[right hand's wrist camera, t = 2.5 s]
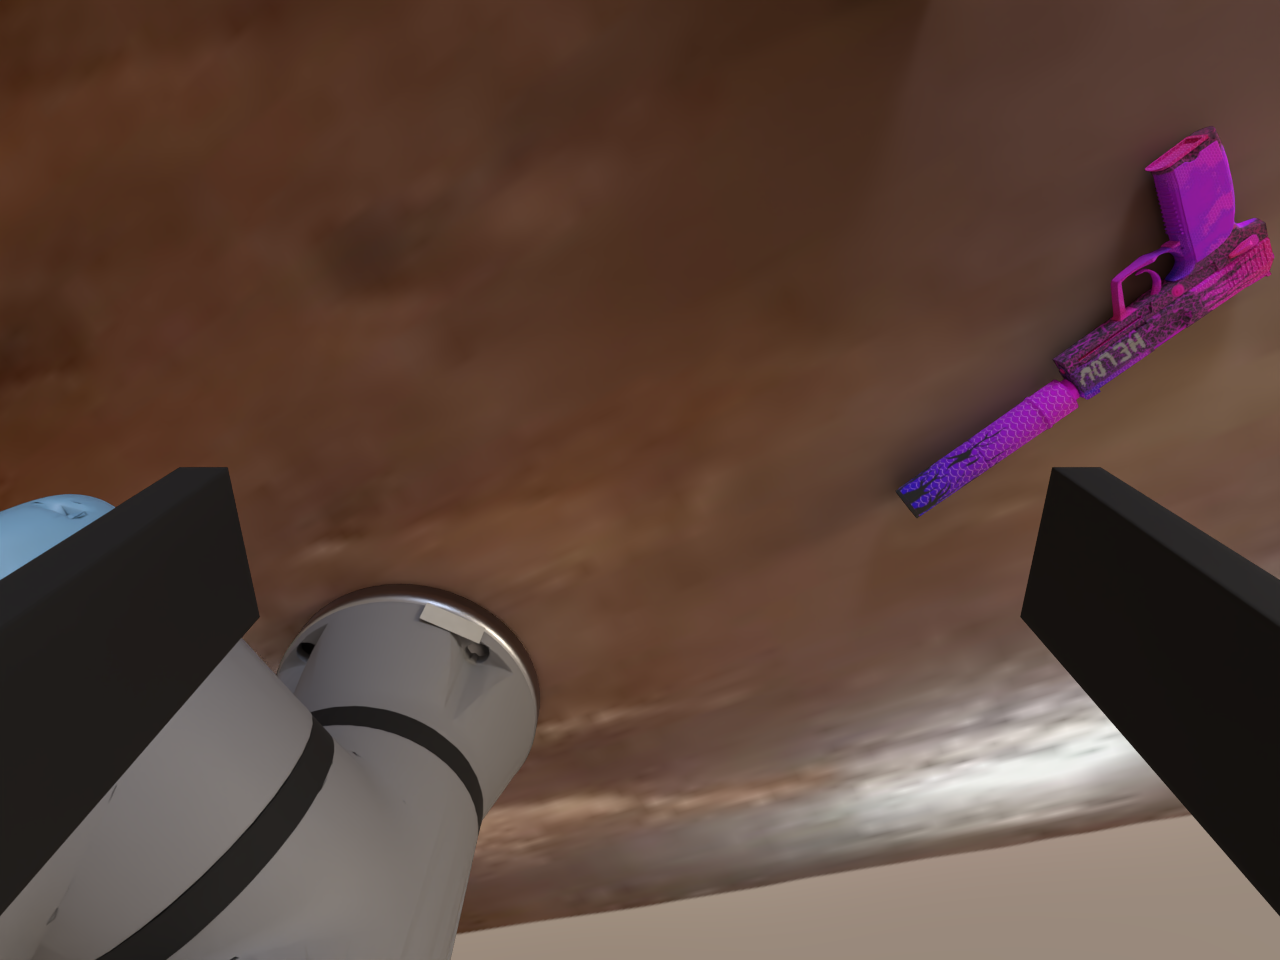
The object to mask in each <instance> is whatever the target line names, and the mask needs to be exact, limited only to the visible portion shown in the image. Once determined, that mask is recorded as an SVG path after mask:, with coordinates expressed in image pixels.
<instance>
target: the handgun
mask: <svg viewBox="0 0 1280 960" xmlns="http://www.w3.org/2000/svg"><path fill="white" fill-rule="evenodd" d="M1145 170H1146V171H1151V173H1152V175H1153V177H1154V182H1155V187H1156V189H1157V190H1156V192H1157V193H1158V194H1157V196H1158V197H1159V198H1158V200H1159V201H1160V203H1159V205H1161V207H1160V209H1162V211H1161V213H1163V215H1162V217H1163V218H1164V220H1163V222H1165V224H1164V226H1166V228H1165V229H1164V230H1167V231H1166V232H1165V233H1166V234H1168V236H1169V240H1170V241H1168V242H1166V243H1164V244H1163V245H1162V246H1160V247H1161V248H1160V249H1158V250H1156V251H1153V252H1151V253H1148V254H1145V255H1142V256H1140V257H1139V258H1137V259H1136V260H1135V261H1134V262H1133V263H1131V264H1130V265H1129V266H1128V267H1127V268H1125V269H1124V270H1123V271H1122V272H1120V273H1119V274H1118V275H1117V276H1116V277H1115V278H1114V279H1113V280H1112V281H1111V293H1112V305H1113V317H1111V318H1110V319H1109V320H1107V321H1106V322H1104V323H1103V324H1102V325H1100V326H1099V327H1097V328H1096V329H1095V330H1093V331H1092V332H1090V333H1089V334H1088V335H1086V336H1085V337H1083V338H1082V339H1081V340H1079V341H1078V342H1076V343H1075V344H1074V345H1072V346H1071V347H1069V348H1068V349H1067V350H1065V351H1064V352H1062V353H1061V354H1060V355H1058V356H1057V357H1055V358H1054V359H1053V361H1054V362H1055V364H1056V365H1057V367H1058V369H1059V372H1060V373H1061V375H1062V377H1063V378H1064V380H1062V381H1061V382H1059V381H1057V380H1053V381H1051V382H1050V383H1049V384H1047V385H1046V386H1044V387H1043V388H1041V389H1040V390H1039V391H1037V392H1036V393H1034V394H1033V395H1031V396H1030V397H1026V398H1025V399H1024V401H1023V402H1021V403H1020V404H1019V405H1017V406H1016V407H1014V408H1013V409H1011V410H1010V411H1009V412H1007V413H1006V414H1004V415H1003V416H1001V417H1000V418H999V419H997V420H996V421H994V422H993V423H991V424H990V425H989V426H987V427H986V428H984V429H983V430H982V431H980V432H979V433H977V434H976V435H974V436H973V437H972V438H970V439H969V440H968V441H967V442H964V443H963V444H962V445H960V446H959V447H957V448H956V449H954V450H953V451H952V452H950V453H949V454H947V455H946V456H944V457H943V458H942V459H940V460H939V461H937V462H936V463H935V464H933V465H932V466H930V467H929V468H927V469H926V470H925V471H923V472H922V473H920V474H919V475H917V476H916V477H915V478H913V479H912V480H910V481H909V482H907V483H906V484H905V485H903V486H902V487H900V488H899V489H898V490H896V493H897V494H898V495H899V497H900V498H901V499H902V501H903V502H904V503H905V505H906V506H907V507H908V508H909V510H910V511H911V512H912V513H913V515H914V516H915V517H916V518H918V517H919V516H921V515H922V514H924V513H925V512H927V511H928V510H930V509H931V508H933V507H934V506H936V505H937V504H938V503H940V502H941V501H943V500H944V499H946V498H947V497H949V496H950V495H952V494H953V493H954V492H956V491H957V490H959V489H960V488H962V487H963V486H965V485H966V484H968V483H969V482H970V481H972V480H973V479H975V478H976V477H978V476H979V475H981V474H982V473H984V472H985V471H986V470H988V468H991V467H992V466H994V465H995V464H997V463H998V462H1000V461H1001V460H1002V459H1004V458H1005V457H1007V456H1008V455H1010V454H1011V453H1013V452H1014V451H1016V450H1017V449H1018V448H1020V447H1021V446H1023V445H1024V444H1026V443H1027V442H1029V441H1030V440H1032V439H1033V438H1034V437H1036V436H1037V435H1039V434H1040V433H1042V432H1043V431H1045V430H1046V429H1050V428H1051V427H1053V424H1055V423H1056V422H1058V421H1059V420H1061V419H1062V418H1063V417H1065V416H1066V415H1068V414H1069V413H1071V412H1072V411H1074V410H1075V409H1077V408H1078V403H1077V401H1076V399H1078V398H1079V397H1083V398H1085V399H1087V400H1088V399H1090V398H1091V397H1093V396H1095V395H1096V394H1098V393H1099V392H1100V390H1099V388H1100V387H1102V386H1103V385H1105V384H1106V383H1108V382H1109V381H1110V380H1112V379H1113V378H1115V377H1116V376H1118V375H1119V374H1121V373H1122V372H1124V371H1125V370H1126V369H1128V368H1129V367H1131V366H1132V365H1134V364H1135V363H1137V362H1138V361H1140V360H1141V359H1142V358H1144V357H1145V356H1147V355H1148V354H1150V353H1151V352H1153V351H1154V350H1155V348H1157V347H1158V346H1160V345H1161V344H1163V343H1164V342H1166V341H1167V340H1168V339H1170V338H1171V337H1173V336H1174V335H1176V334H1177V333H1179V332H1180V331H1181V330H1183V329H1184V328H1186V327H1189V326H1190V325H1192V324H1193V323H1195V322H1196V321H1198V320H1199V319H1200V318H1202V317H1203V316H1205V315H1206V314H1208V313H1209V312H1211V311H1212V310H1214V309H1215V308H1216V307H1218V306H1219V305H1221V304H1222V303H1224V302H1225V301H1227V300H1228V299H1230V298H1231V297H1232V296H1234V295H1235V294H1237V293H1238V292H1240V291H1241V290H1243V289H1244V288H1245V287H1248V286H1250V285H1251V284H1253V283H1255V282H1256V281H1258V280H1260V279H1261V278H1263V277H1264V276H1269V275H1271V272H1270V268H1271V265H1272V262H1273V259H1274V254H1273V253H1272V248H1271V244H1270V239H1269V238H1268V237H1267V236H1268V235H1267V229H1266V223H1265V222H1263V221H1261V220H1260V219H1258V218H1252V219H1249V220H1247V221H1244V222H1241V223H1238V224H1236V223H1235V222H1234V213H1235V198H1234V190H1233V183H1232V178H1231V173H1230V169H1229V164H1228V160H1227V157H1226V154H1225V150H1224V148H1223V145H1222V143H1221V141H1220V138H1219V136H1218V134H1217V132H1216V130H1215V128H1214V127H1213V126H1209V127H1206V128H1203V129H1201V130H1198V131H1196V132H1194V133H1192V134H1191V135H1190V136H1188V137H1186V138H1185V139H1183V140H1182V141H1181V142H1179V143H1178V144H1177V145H1175V146H1174V147H1173V148H1171V149H1170V150H1169V151H1167V152H1166V153H1165V154H1163V155H1162V156H1161V157H1159V158H1158V159H1157V160H1155V161H1154V162H1153V163H1151V164H1150V165H1149V166H1147V167H1146V168H1145ZM1168 252H1169V253H1171V254H1172V255H1173V256H1174V258H1175V264H1174V266H1173V268H1172V270H1171V271H1170V273H1169V274H1168V275H1167V276H1166V278H1165V279H1164V280H1162V281H1161V279H1160V277H1159V275H1158V274H1157V273H1156V272H1155V271H1152V270H1149V269H1141V270H1139V269H1140V268H1142V267H1144V266H1146V265H1148V264H1150V263H1153V262H1154V261H1155V260H1156V259H1157V257H1158V256H1159V255H1161V254H1164V253H1168ZM1137 270H1139V271H1138V272H1137V273H1136V274H1135V275H1136V276H1137V275H1139V274H1141V273H1143V272H1148V273H1149V274H1150V275H1151V277H1152V280H1153V285H1152V288H1151V289H1150V290H1148V291H1147V292H1145V293H1144V294H1143V295H1141V296H1140V297H1138V298H1137V299H1136V300H1135V301H1134V302H1133V303H1131V304H1130V305H1128V306H1127V307H1125V305H1124V299H1123V292H1122V285H1121V282H1122V281H1123V280H1125V279H1126V278H1127V277H1128V276H1129V275H1130V274H1132V273H1133V272H1135V271H1137Z"/></svg>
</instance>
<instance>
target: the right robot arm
mask: <svg viewBox="0 0 1280 960" xmlns="http://www.w3.org/2000/svg"><path fill="white" fill-rule="evenodd" d="M259 617H260V616H259V611H258V607H257V602H256V597H255V593H254V588H253V583H252V579H251V574H250V569H249V565H248V560H247V555H246V551H245V546H244V541H243V537H242V532H241V527H240V523H239V518H238V513H237V509H236V504H235V499H234V495H233V490H232V485H231V481H230V476H229V471H228V467H179V468H178V469H176V470H175V471H173V472H171V473H170V474H168V475H167V476H165V477H163V478H162V479H160V480H159V481H157V482H155V483H154V484H152V485H151V486H149V487H147V488H146V489H144V490H143V491H141V492H139V493H138V494H136V495H135V496H133V497H132V498H130V499H128V500H127V501H125V502H124V503H122V504H120V505H119V506H117V507H116V508H115V507H114V506H113V505H111V504H109V503H107V502H105V501H103V500H100V499H98V498H94V497H90V496H85V495H76V494H64V495H55V496H49V497H45V498H40V499H37V500H33V501H30V502H27V503H23V504H20V505H18V506H15V507H12V508H9V509H7V510H4V511H1V512H0V960H450V959H451V955H452V950H453V946H454V941H455V937H456V933H457V928H458V924H459V919H460V915H461V910H462V906H463V901H464V897H465V892H466V888H467V883H468V879H469V874H470V870H471V866H472V861H473V857H474V852H475V848H476V844H477V839H478V834H479V830H480V826H481V823H482V820H483V819H484V817H485V816H486V814H487V813H488V812H489V810H490V809H491V807H492V806H493V805H494V803H495V802H496V800H497V799H498V798H499V796H500V795H501V794H502V792H503V791H504V789H505V788H506V787H507V785H508V784H509V782H510V781H511V779H512V778H513V777H514V775H515V774H516V773H517V772H518V771H519V769H520V768H521V766H522V765H523V763H524V762H525V760H526V758H527V756H528V754H529V752H530V749H531V747H532V744H533V740H534V736H535V731H536V726H537V721H538V715H539V708H540V691H539V683H538V679H537V675H536V672H535V669H534V666H533V663H532V661H531V659H530V657H529V655H528V653H527V652H526V650H525V648H524V647H523V645H522V644H521V642H520V641H519V640H518V639H517V637H516V636H515V635H514V634H513V633H512V632H511V630H510V629H509V628H508V627H507V626H506V625H505V624H503V623H502V622H501V621H500V620H499V619H498V618H497V617H495V616H494V615H493V614H491V613H490V612H488V611H487V610H486V609H484V608H482V607H481V606H479V605H477V604H476V603H474V602H472V601H470V600H468V599H466V598H463V597H461V596H458V595H456V594H453V593H450V592H447V591H444V590H441V589H436V588H432V587H427V586H420V585H410V584H389V585H380V586H373V587H369V588H364V589H361V590H358V591H354V592H351V593H349V594H347V595H344V596H342V597H340V598H338V599H336V600H334V601H333V602H331V603H329V604H328V605H326V606H325V607H324V608H322V609H321V610H320V611H318V612H317V613H316V614H315V615H314V616H313V617H312V618H311V619H310V620H309V621H308V623H307V624H306V625H305V626H304V627H303V629H302V630H301V631H300V633H299V634H298V635H297V637H296V638H295V639H294V641H293V642H292V643H291V645H290V646H289V648H288V649H287V651H286V652H285V654H284V656H283V658H282V660H281V662H280V665H279V668H278V671H277V674H276V675H275V674H274V672H273V671H272V670H271V669H270V668H269V667H268V666H267V665H266V664H265V663H264V662H263V660H262V659H261V658H260V657H259V656H258V655H257V654H256V653H255V652H254V651H253V649H252V648H251V647H250V646H249V645H248V644H247V643H246V642H245V641H244V640H243V639H242V637H243V635H244V634H245V633H246V632H247V631H248V630H249V629H250V627H251V626H252V625H253V624H254V623H255V622H256V620H257V619H258V618H259ZM1020 617H1021V618H1022V619H1023V620H1024V622H1025V623H1026V624H1027V625H1028V626H1029V627H1030V629H1031V630H1032V631H1033V632H1034V633H1035V634H1036V635H1037V637H1038V638H1039V639H1040V640H1041V641H1042V642H1043V644H1044V645H1045V646H1046V647H1047V648H1048V649H1049V650H1050V652H1051V653H1052V654H1053V655H1054V656H1055V657H1056V659H1057V660H1058V661H1059V662H1060V663H1061V664H1062V665H1063V667H1064V668H1065V669H1066V670H1067V671H1068V672H1069V674H1070V675H1071V676H1072V677H1073V678H1074V679H1075V680H1076V682H1077V683H1078V684H1079V685H1080V686H1081V687H1082V689H1083V690H1084V691H1085V692H1086V693H1087V694H1088V695H1089V697H1090V698H1091V699H1092V700H1093V701H1094V702H1095V704H1096V705H1097V706H1098V707H1099V708H1100V709H1101V710H1102V712H1103V713H1104V714H1105V715H1106V716H1107V717H1108V719H1109V720H1110V721H1111V722H1112V723H1113V724H1114V725H1115V727H1116V728H1117V729H1118V730H1119V731H1120V732H1121V734H1122V735H1123V736H1124V737H1125V738H1126V739H1127V740H1128V742H1129V743H1130V744H1131V745H1132V746H1133V747H1134V749H1135V750H1136V751H1137V752H1138V753H1139V754H1140V755H1141V757H1142V758H1143V759H1144V760H1145V761H1146V762H1147V764H1148V765H1149V766H1150V767H1151V768H1152V769H1153V770H1154V772H1155V773H1156V774H1157V775H1158V776H1159V777H1160V779H1161V780H1162V781H1163V782H1164V783H1165V784H1166V785H1167V787H1168V788H1169V789H1170V790H1171V791H1172V792H1173V794H1174V795H1175V796H1176V797H1177V798H1178V799H1179V800H1180V802H1181V803H1182V804H1183V805H1184V806H1185V807H1186V809H1187V810H1188V811H1189V812H1190V813H1191V814H1192V815H1193V817H1194V818H1195V819H1196V820H1197V821H1198V822H1199V824H1200V825H1201V826H1202V827H1203V828H1204V829H1205V830H1206V832H1207V833H1208V834H1209V835H1210V836H1211V837H1212V838H1213V840H1214V841H1215V842H1216V843H1217V844H1218V845H1219V847H1220V848H1221V849H1222V850H1223V851H1224V852H1225V853H1226V855H1227V856H1228V857H1229V858H1230V859H1231V860H1232V862H1233V863H1234V864H1235V865H1236V866H1237V867H1238V868H1239V870H1240V871H1241V872H1242V873H1243V874H1244V875H1245V877H1246V878H1247V879H1248V880H1249V881H1250V882H1251V884H1252V885H1253V886H1254V887H1255V888H1256V889H1257V890H1258V892H1259V893H1260V894H1261V895H1262V896H1263V897H1264V898H1265V900H1266V901H1267V902H1268V903H1269V904H1270V905H1271V907H1272V908H1273V909H1274V910H1275V911H1276V912H1277V914H1278V915H1279V916H1280V580H1279V579H1277V578H1276V577H1274V576H1273V575H1271V574H1269V573H1268V572H1266V571H1265V570H1263V569H1261V568H1260V567H1258V566H1257V565H1255V564H1254V563H1252V562H1250V561H1249V560H1247V559H1246V558H1244V557H1242V556H1241V555H1239V554H1238V553H1236V552H1234V551H1233V550H1231V549H1230V548H1228V547H1226V546H1225V545H1223V544H1222V543H1220V542H1218V541H1217V540H1215V539H1214V538H1212V537H1211V536H1209V535H1207V534H1206V533H1204V532H1203V531H1201V530H1199V529H1198V528H1196V527H1195V526H1193V525H1191V524H1190V523H1188V522H1187V521H1185V520H1183V519H1182V518H1180V517H1179V516H1177V515H1176V514H1174V513H1172V512H1171V511H1169V510H1168V509H1166V508H1164V507H1163V506H1161V505H1160V504H1158V503H1156V502H1155V501H1153V500H1152V499H1150V498H1148V497H1147V496H1145V495H1144V494H1142V493H1141V492H1139V491H1137V490H1136V489H1134V488H1133V487H1131V486H1129V485H1128V484H1126V483H1125V482H1123V481H1121V480H1120V479H1118V478H1117V477H1115V476H1113V475H1112V474H1110V473H1109V472H1107V471H1105V470H1104V469H1102V468H1101V467H1052V471H1051V476H1050V481H1049V485H1048V490H1047V495H1046V499H1045V504H1044V509H1043V513H1042V518H1041V523H1040V527H1039V532H1038V537H1037V541H1036V546H1035V551H1034V555H1033V560H1032V565H1031V569H1030V574H1029V579H1028V583H1027V588H1026V593H1025V597H1024V602H1023V607H1022V611H1021V616H1020Z"/></svg>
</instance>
